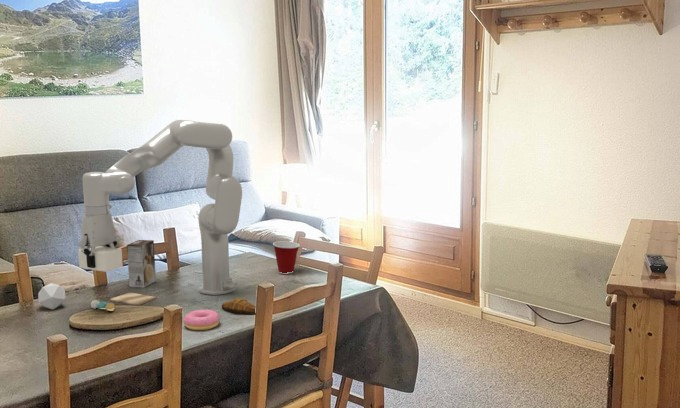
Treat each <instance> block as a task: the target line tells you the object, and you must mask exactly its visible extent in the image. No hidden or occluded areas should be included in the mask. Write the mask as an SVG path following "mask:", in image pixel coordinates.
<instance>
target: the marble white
mask: <svg viewBox="0 0 680 408" xmlns="http://www.w3.org/2000/svg"><path fill="white" fill-rule="evenodd" d="M100 302H101V301H100V300H97V299H94V300H93V299H92V301H91V302H90V307H91V308H92V309H93V310H97V309H96V308H98V304H99V303H100ZM98 309H99V308H98Z"/></svg>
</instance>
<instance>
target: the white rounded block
mask: <svg viewBox="0 0 680 408" xmlns="http://www.w3.org/2000/svg"><path fill="white" fill-rule="evenodd" d="M90 250H91V248H90ZM90 250H89V251H90ZM77 253H78V254H77V256H78V264H79V265H78V267H79V268H80V269H87V270H92V271H99V272H104V273H106V272H107V273H108V272H110V271H114V270H117V269H121V268H123V266H124V265H123V251H122V248H118V247H115V248H111V247H105V245H103V246H98V247H95V251H94V254H93V255H94V256H95V266H96V267H95V268H90V267H87V258H86V255H84V253H83V252H82V251H81V250H80V249H79V248H78V251H77Z"/></svg>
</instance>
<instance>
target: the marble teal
mask: <svg viewBox="0 0 680 408" xmlns="http://www.w3.org/2000/svg"><path fill="white" fill-rule="evenodd" d="M99 302H100V303H99V304H98V309H99V308H105V307H106V305H107V304H108V303H107V302H106V301H103V300H102V301H99Z"/></svg>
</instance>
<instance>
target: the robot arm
mask: <svg viewBox="0 0 680 408" xmlns="http://www.w3.org/2000/svg"><path fill="white" fill-rule="evenodd" d="M232 140H233V133H232V130H231V129H230V128H229V127H228V126H227V125H226V124H222V123H213V122H202V121H201V122H200V121H197V120H196V121H195V120H189V119H187V120H186V119H176V120H174V121H172V122H170V123H168V124H167V125H166V127H164V128H163V129H162V130H160V131H159V132H158V133H156V134H155V135H154V136H153V137H151V139H149V140H148V141H147V142H145V143H144V144H142V145H140V146H139V147H138V148H136V149H134V150H133V151H131V152H129V153H128V154H126V155H125V156H124V157H121V159H119V160H118V161H117V162H115V163H114V164H113V165H112V166H110V168H108V169H107V170H106V171H105V172H104V171H103V172H102V171H91V172H89V171H88V172H86V173H84V174H82V189H83V190H82V191H83V205H84V215H83V216H82V218H81V219H82V220H81V234H80V235H81V236H80V237H81V240H80V242H79V243H78V244H77V248H78V250H79V249H80V250H81V251H82V252H83V253H84V255H86V258H87V267H90V268H95V267H96V266H95V256H94V255H93V254H94V251H95V247H98V246H104V247H111V248H116V246H117V245H118V242H119V239H120V235H118V233H116V232H115V226H114V225H115V224H114V221H113V216H112V214H111V210H110V209H111V208H112V206H111V205H110V197H109V196H110V194H113V195H115V194H116V195H124V194H127V193H128V194H129V193H130V192H131V191H132V190H133V189H134V187H135V184H136V180H135V179H134V178H135V176H137V175H139V174H141V173H142V172H144V171H147V170H149V169H152V168H156V167H158V166H161V165H162V164H163V163H165V162H166V161H167V160H169V158H171V157H172V156H173V155H174V154H176V153H177V152H178V151H179V150H180V149H181V148H183V147H193V148H202V149H204V148H205V150H206V151H207V154H208V168H207V169H208V170H207V177H206V183H205V192H206V195H207V196H208V197H209V198H210V199H212V200H215V201H214V203H208V204H205V205H204V206H202V207H201V209H200V211H199V213H198V217H197V218H198V227H199V231H200V239H201V240H200V241H201V242H200V244H201V245H200V246H201V267H202V268H201V269H202V270H201V271H202V285H201V286H199V287H198V293H200V294H203V295H208V296H219V295H225V294H226V295H227V294H229V293H232V292H233V291H235V290H236V289H237V286H238V283H237V282H234V281H233V278H232V277H230V256H229V253H230V252H229V249H230V248H229V236H228V235H229V234H232V233H233V232H234V231H235V230H236V228H237V227H238V224H239V221H240V220H239V219H240V214H241V205H242V199H243V187H242V184H241V181H239V179H238V178H236V177H235V176H233V170H234V153H233V150H232V149H233V148H232V146H231V145H230V144H231V142H232ZM90 248H91V250H90ZM89 250H90V251H89Z"/></svg>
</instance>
